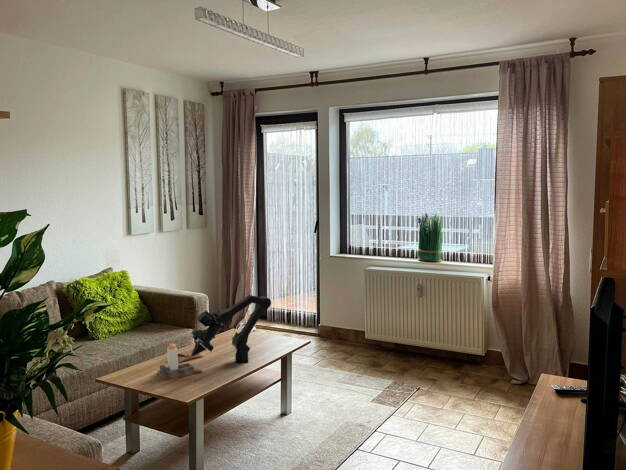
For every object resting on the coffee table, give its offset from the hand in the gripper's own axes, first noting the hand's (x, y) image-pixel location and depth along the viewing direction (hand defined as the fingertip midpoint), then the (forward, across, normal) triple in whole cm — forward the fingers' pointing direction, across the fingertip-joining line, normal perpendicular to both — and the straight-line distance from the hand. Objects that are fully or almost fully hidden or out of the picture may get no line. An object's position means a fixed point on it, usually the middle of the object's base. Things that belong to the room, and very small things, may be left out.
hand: (192, 355), depth 283 cm
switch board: (+10, 0, +1) cm, 10 cm away
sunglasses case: (+4, -20, +8) cm, 22 cm away
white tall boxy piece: (+12, 0, -3) cm, 12 cm away
